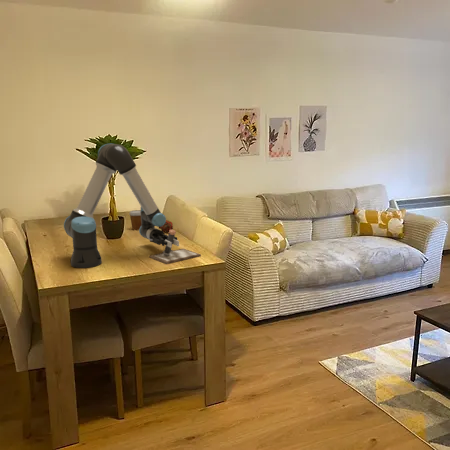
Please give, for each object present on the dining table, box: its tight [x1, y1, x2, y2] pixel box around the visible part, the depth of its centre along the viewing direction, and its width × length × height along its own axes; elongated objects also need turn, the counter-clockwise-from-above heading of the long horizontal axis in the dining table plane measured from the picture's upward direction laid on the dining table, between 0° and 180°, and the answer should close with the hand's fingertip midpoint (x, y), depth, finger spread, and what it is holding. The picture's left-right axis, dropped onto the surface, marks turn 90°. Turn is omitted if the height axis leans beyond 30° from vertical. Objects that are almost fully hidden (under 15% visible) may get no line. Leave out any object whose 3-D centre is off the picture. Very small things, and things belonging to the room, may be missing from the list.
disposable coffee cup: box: [129, 209, 141, 231], centre depth 315 cm, size 10×10×12 cm
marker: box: [163, 229, 177, 256], centre depth 247 cm, size 3×3×14 cm
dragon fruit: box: [158, 219, 174, 233], centre depth 308 cm, size 8×8×12 cm
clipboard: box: [149, 248, 202, 265], centre depth 251 cm, size 22×16×2 cm
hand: (174, 244), depth 242 cm, fingers closed on marker, 4 cm apart
